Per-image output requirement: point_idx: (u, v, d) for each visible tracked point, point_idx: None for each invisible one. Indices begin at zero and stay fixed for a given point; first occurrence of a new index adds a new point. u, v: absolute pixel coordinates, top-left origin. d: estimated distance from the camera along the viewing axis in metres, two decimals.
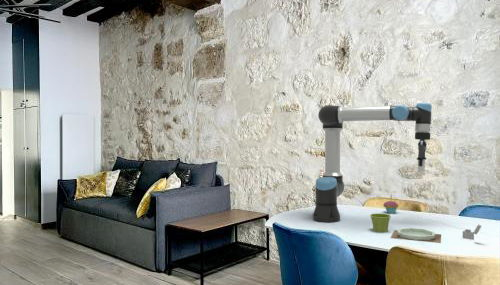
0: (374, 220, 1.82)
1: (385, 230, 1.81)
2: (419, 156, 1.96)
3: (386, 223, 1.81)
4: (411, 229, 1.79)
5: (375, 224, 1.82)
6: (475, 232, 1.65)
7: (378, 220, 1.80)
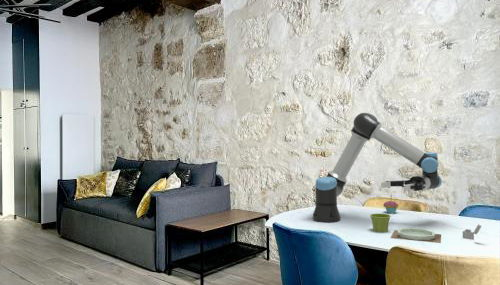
0: (374, 220, 1.82)
1: (385, 230, 1.81)
2: (421, 185, 1.85)
3: (386, 223, 1.81)
4: (411, 229, 1.79)
5: (375, 224, 1.82)
6: (475, 232, 1.65)
7: (378, 220, 1.80)
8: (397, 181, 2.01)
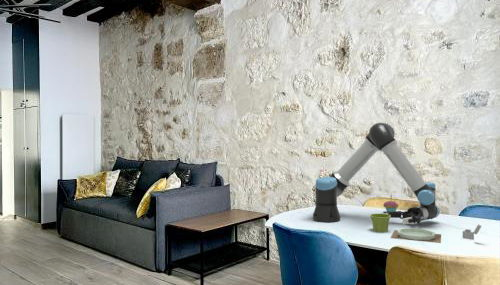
0: (374, 220, 1.82)
1: (385, 230, 1.81)
2: (419, 219, 1.84)
3: (386, 223, 1.81)
4: (411, 229, 1.79)
5: (375, 224, 1.82)
6: (475, 232, 1.65)
7: (378, 220, 1.80)
8: (395, 212, 2.00)
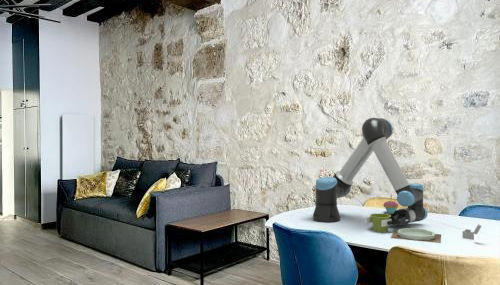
0: (374, 220, 1.82)
1: (385, 230, 1.81)
2: (399, 221, 1.79)
3: None
4: (411, 229, 1.79)
5: (375, 224, 1.82)
6: (475, 232, 1.65)
7: (378, 220, 1.80)
8: None
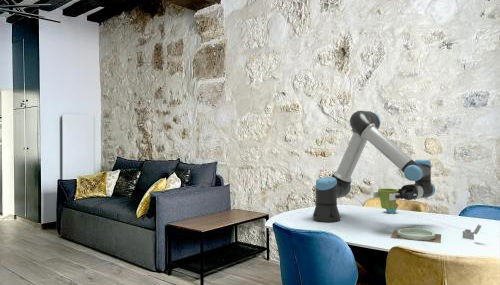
0: (382, 194, 1.79)
1: (393, 204, 1.78)
2: (407, 195, 1.77)
3: None
4: (411, 229, 1.79)
5: (383, 198, 1.79)
6: (475, 232, 1.65)
7: (386, 194, 1.78)
8: None
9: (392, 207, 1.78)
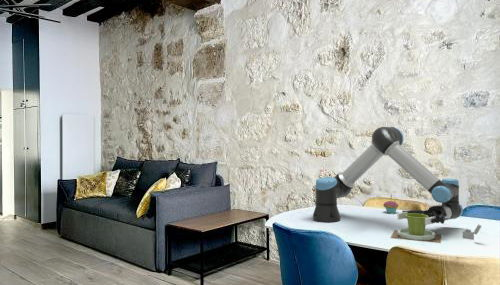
0: (410, 220, 1.70)
1: (422, 231, 1.69)
2: (443, 219, 1.67)
3: (423, 224, 1.69)
4: None
5: (411, 224, 1.70)
6: (475, 232, 1.65)
7: (415, 220, 1.69)
8: (414, 211, 1.82)
9: (421, 234, 1.69)
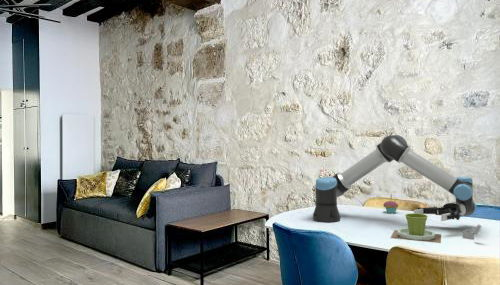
0: (410, 220, 1.70)
1: (422, 231, 1.69)
2: (459, 215, 1.73)
3: (423, 224, 1.69)
4: None
5: (411, 225, 1.70)
6: (475, 232, 1.65)
7: (415, 220, 1.69)
8: (430, 208, 1.89)
9: (421, 234, 1.69)
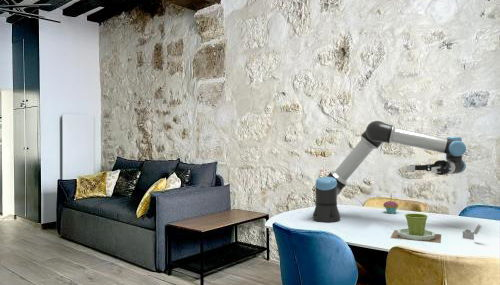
0: (410, 220, 1.70)
1: (422, 231, 1.69)
2: (448, 168, 1.83)
3: (423, 224, 1.69)
4: None
5: (411, 225, 1.70)
6: (475, 232, 1.65)
7: (415, 220, 1.69)
8: None
9: (421, 234, 1.69)
